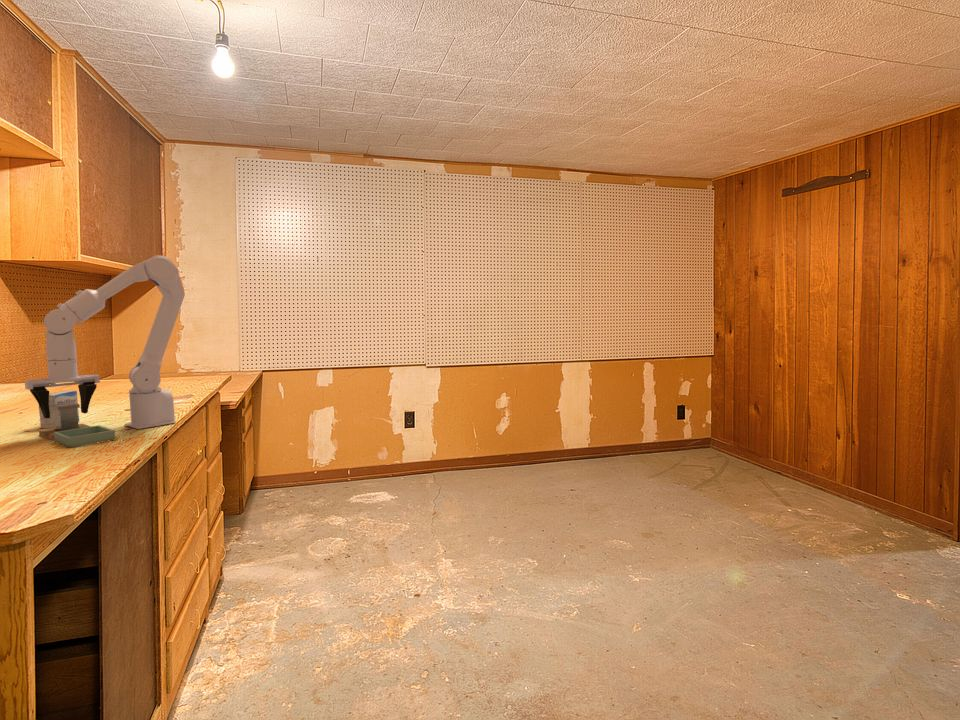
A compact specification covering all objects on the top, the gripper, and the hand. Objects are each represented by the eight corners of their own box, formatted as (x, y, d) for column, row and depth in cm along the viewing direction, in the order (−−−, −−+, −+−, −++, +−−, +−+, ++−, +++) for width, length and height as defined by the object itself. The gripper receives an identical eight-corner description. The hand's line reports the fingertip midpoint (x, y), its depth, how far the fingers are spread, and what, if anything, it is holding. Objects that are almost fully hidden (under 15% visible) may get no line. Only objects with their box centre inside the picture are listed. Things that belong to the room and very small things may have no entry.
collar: (82, 428, 141) (82, 423, 141) (96, 433, 136) (96, 428, 136) (39, 434, 134) (38, 429, 134) (51, 440, 129) (51, 435, 128)
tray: (99, 434, 135) (99, 425, 135) (115, 439, 129) (114, 430, 129) (54, 441, 127) (53, 432, 127) (68, 447, 122) (67, 438, 122)
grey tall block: (75, 431, 138) (73, 402, 137) (81, 433, 135) (79, 404, 135) (54, 434, 134) (51, 404, 134) (60, 437, 132) (58, 407, 131)
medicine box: (57, 428, 141) (54, 395, 140) (39, 428, 141) (37, 395, 140) (80, 422, 148) (77, 390, 148) (63, 422, 148) (61, 390, 148)
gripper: (90, 356, 141) (94, 408, 142) (18, 360, 130) (23, 417, 131) (101, 358, 137) (105, 412, 138) (28, 362, 125) (33, 421, 127)
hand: (66, 415), depth 134 cm, fingers open, 7 cm apart
